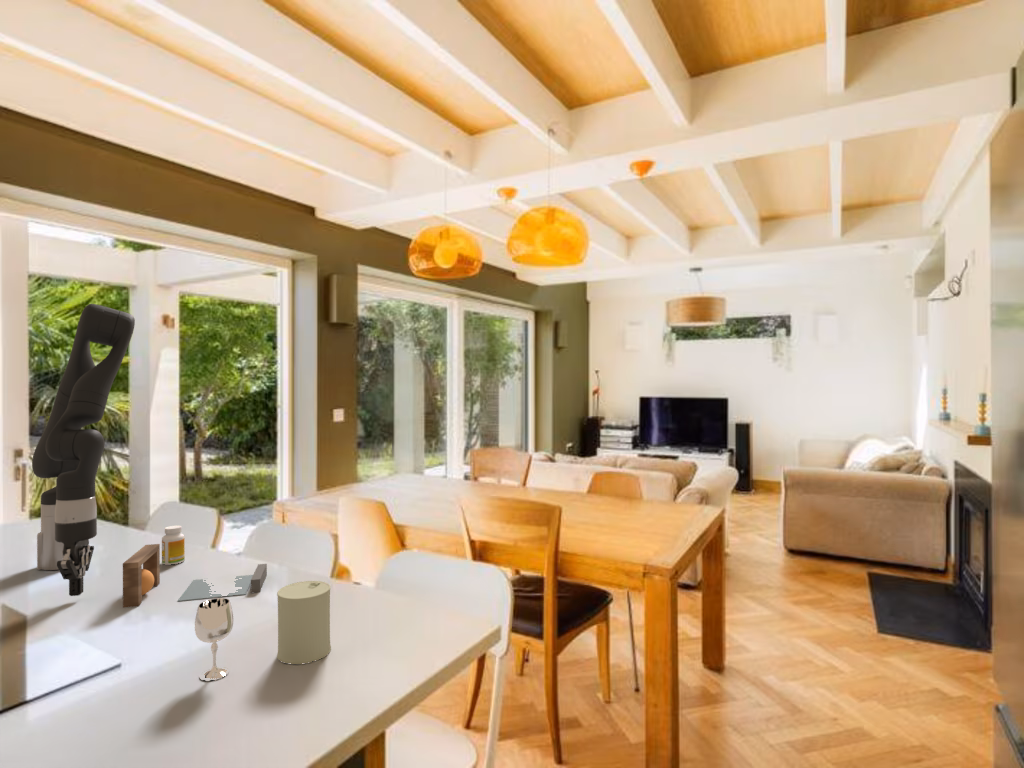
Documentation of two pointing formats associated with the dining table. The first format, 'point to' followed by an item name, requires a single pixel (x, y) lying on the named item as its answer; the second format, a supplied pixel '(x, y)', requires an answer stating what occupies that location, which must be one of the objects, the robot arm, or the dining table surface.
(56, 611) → the dining table surface
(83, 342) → the robot arm
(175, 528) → the supplement bottle
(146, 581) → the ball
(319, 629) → the can
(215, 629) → the wineglass
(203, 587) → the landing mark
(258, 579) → the stopper
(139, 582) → the bridge
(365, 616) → the dining table surface
